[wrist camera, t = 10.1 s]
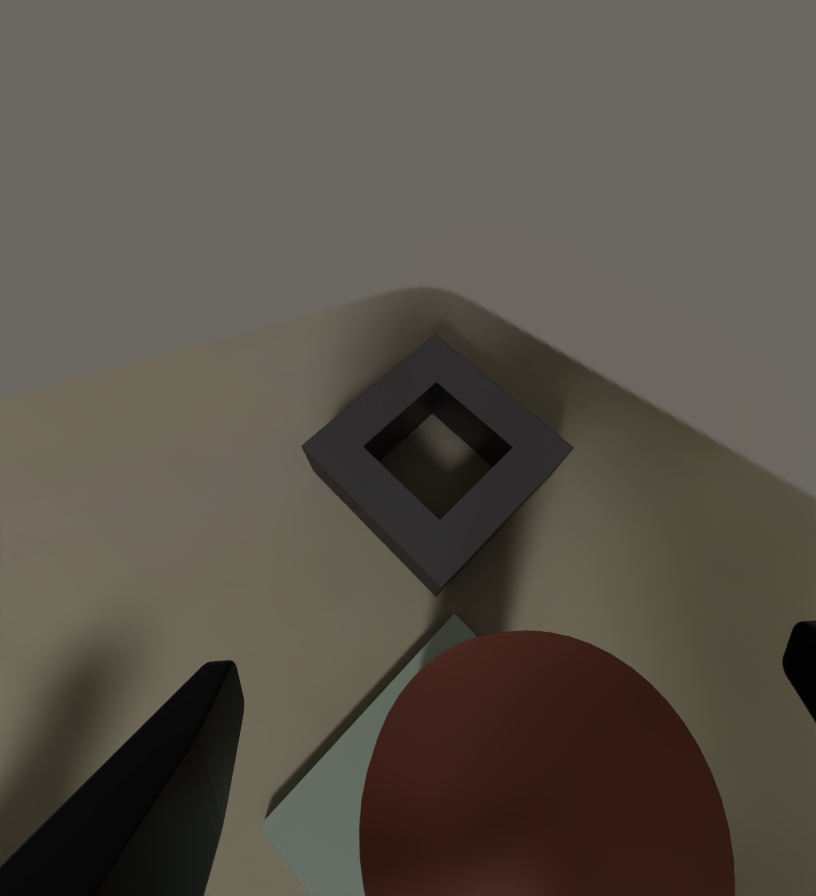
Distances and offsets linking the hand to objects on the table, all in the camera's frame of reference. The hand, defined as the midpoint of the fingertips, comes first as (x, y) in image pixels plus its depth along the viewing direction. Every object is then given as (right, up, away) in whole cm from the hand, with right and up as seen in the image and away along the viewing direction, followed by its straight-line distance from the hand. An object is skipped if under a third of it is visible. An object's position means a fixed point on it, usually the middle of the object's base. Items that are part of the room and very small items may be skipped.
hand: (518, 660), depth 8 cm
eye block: (-1, +2, +15) cm, 15 cm away
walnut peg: (0, -6, +11) cm, 12 cm away
